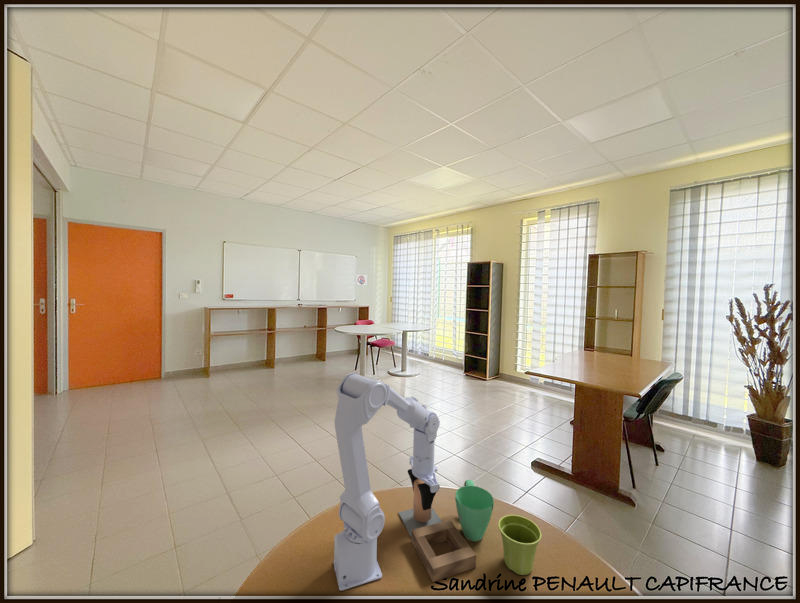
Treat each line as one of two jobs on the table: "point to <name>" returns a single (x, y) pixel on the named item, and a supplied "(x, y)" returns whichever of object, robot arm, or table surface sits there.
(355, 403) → the robot arm
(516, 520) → the plant pot
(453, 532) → the holder
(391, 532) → the table surface
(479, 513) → the mug
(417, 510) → the peach rounded cylinder
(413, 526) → the mat
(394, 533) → the table surface
